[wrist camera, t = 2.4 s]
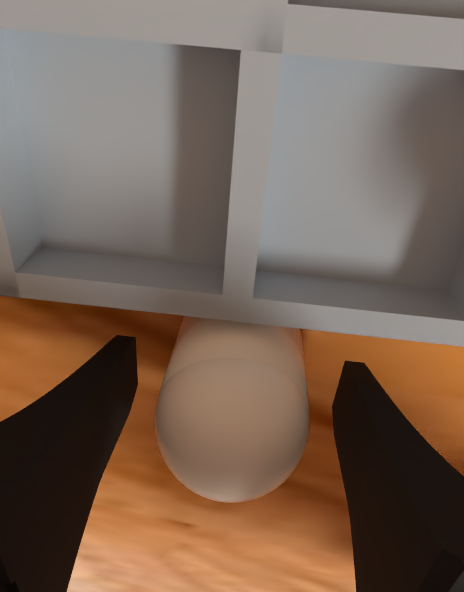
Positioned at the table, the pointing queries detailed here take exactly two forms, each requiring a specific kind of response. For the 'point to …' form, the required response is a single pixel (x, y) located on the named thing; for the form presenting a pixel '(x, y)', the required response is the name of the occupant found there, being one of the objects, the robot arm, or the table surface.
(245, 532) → the table surface
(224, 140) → the egg tray
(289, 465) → the light brown egg
